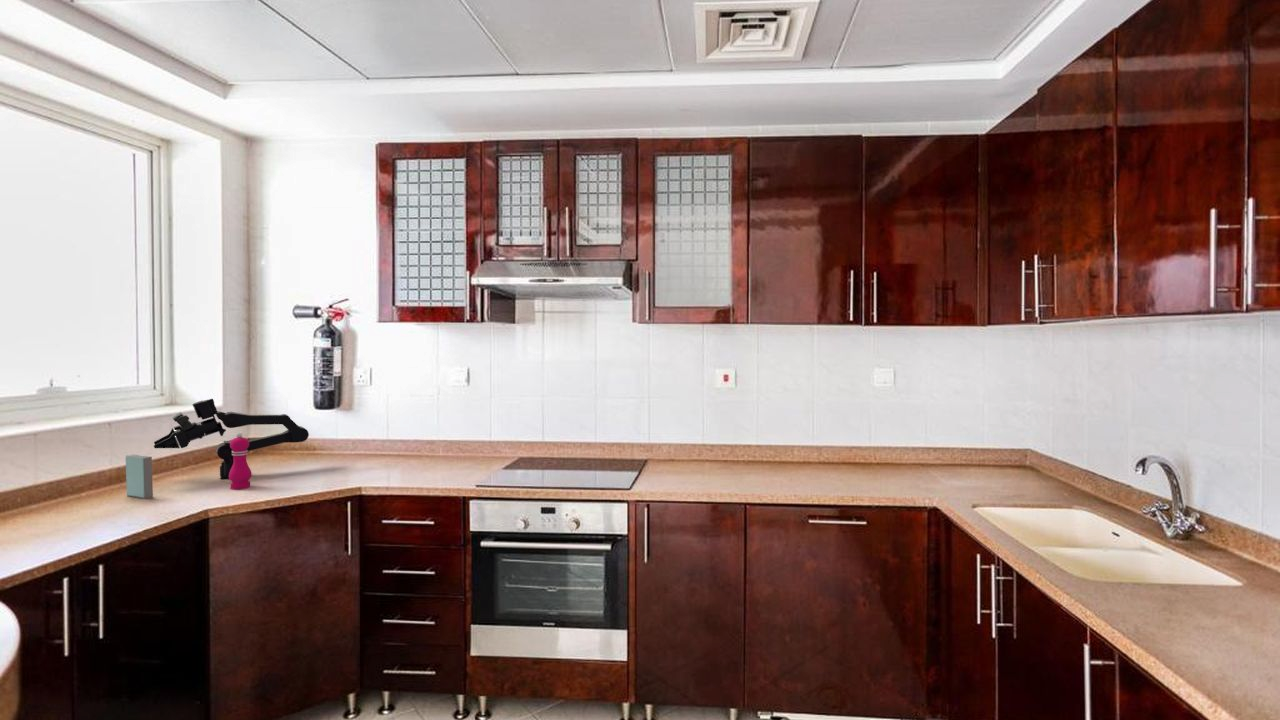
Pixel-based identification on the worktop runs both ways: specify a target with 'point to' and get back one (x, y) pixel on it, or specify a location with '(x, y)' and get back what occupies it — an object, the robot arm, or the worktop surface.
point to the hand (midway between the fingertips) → (154, 445)
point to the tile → (139, 476)
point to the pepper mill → (239, 463)
